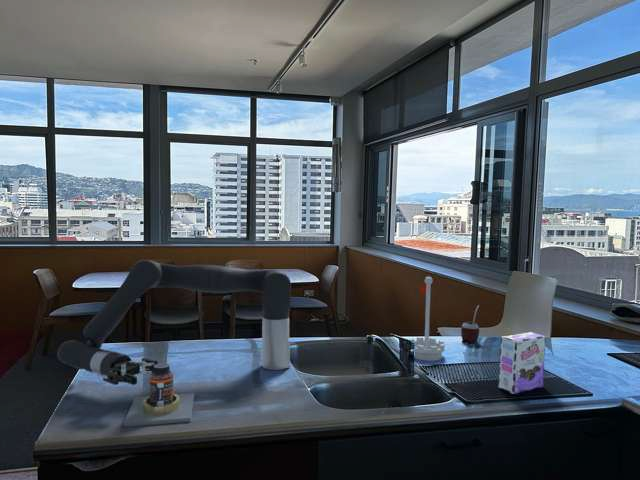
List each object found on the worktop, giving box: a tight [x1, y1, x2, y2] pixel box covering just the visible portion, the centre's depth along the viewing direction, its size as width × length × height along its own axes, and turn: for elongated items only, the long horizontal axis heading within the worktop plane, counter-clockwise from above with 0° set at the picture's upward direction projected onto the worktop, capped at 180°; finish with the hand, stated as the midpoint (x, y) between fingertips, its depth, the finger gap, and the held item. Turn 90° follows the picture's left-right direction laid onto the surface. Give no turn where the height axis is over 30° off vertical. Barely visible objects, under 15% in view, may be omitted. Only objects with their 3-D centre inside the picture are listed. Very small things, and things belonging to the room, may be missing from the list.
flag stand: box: [409, 276, 446, 362], centre depth 174 cm, size 13×13×30 cm
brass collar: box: [143, 393, 180, 415], centre depth 125 cm, size 9×9×2 cm
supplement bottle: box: [149, 362, 174, 406], centre depth 125 cm, size 6×6×11 cm
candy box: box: [498, 331, 546, 395], centre depth 144 cm, size 14×6×16 cm, turn 117°
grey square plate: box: [123, 392, 195, 428], centre depth 125 cm, size 16×16×1 cm
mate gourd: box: [460, 304, 480, 345], centre depth 193 cm, size 8×8×15 cm
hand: (149, 375), depth 126 cm, fingers open, 8 cm apart
